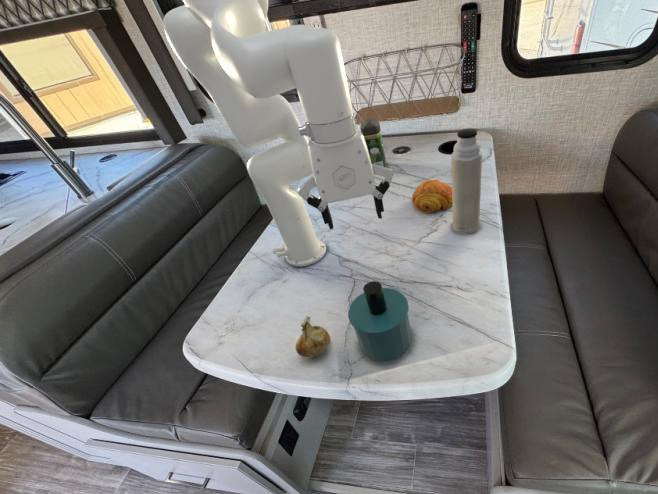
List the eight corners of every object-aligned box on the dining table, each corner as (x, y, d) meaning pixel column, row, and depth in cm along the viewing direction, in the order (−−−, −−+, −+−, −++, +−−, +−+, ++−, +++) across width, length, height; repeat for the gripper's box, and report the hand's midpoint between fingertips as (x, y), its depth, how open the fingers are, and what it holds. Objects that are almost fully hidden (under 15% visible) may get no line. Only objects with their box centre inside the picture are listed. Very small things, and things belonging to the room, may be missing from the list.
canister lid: (352, 342, 64) (343, 318, 59) (346, 299, 73) (338, 274, 68) (415, 327, 65) (411, 301, 60) (401, 286, 73) (397, 260, 68)
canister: (365, 368, 71) (354, 338, 64) (358, 329, 79) (348, 298, 72) (416, 355, 72) (411, 323, 65) (405, 317, 80) (399, 285, 73)
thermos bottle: (447, 229, 104) (444, 134, 84) (461, 217, 107) (461, 123, 88) (470, 236, 99) (472, 139, 80) (484, 223, 103) (489, 127, 84)
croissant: (409, 218, 115) (404, 198, 109) (421, 190, 123) (417, 170, 117) (450, 219, 110) (448, 199, 104) (460, 190, 118) (458, 170, 112)
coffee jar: (368, 164, 146) (359, 118, 133) (386, 162, 145) (379, 115, 132) (368, 174, 139) (358, 127, 126) (387, 171, 138) (379, 123, 125)
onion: (292, 356, 76) (279, 334, 71) (316, 332, 80) (306, 309, 75) (316, 370, 73) (304, 348, 67) (340, 344, 77) (330, 321, 71)
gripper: (277, 147, 50) (312, 240, 63) (389, 125, 51) (402, 221, 64) (280, 131, 56) (311, 219, 68) (381, 111, 57) (394, 202, 69)
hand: (355, 220), depth 66 cm, fingers open, 9 cm apart
